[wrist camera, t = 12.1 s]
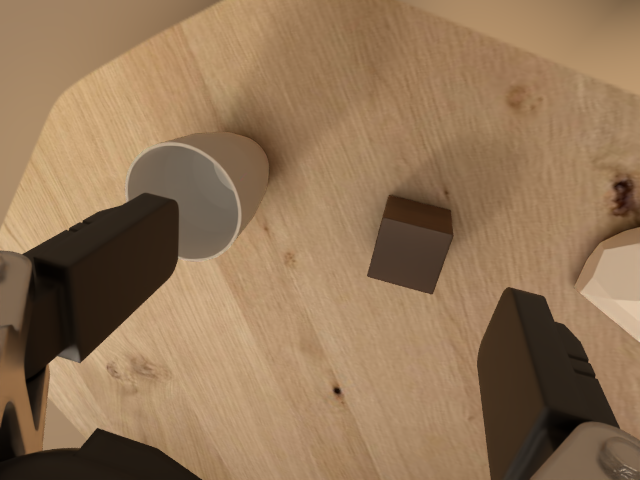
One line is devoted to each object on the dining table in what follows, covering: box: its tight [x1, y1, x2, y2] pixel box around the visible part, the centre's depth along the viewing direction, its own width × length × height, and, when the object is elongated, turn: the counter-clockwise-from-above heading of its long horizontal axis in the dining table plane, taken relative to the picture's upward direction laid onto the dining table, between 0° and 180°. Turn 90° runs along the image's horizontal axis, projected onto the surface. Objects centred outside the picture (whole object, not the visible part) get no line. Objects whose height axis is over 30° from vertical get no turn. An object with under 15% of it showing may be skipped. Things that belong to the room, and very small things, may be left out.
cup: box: [125, 132, 269, 262], centre depth 33 cm, size 8×8×10 cm
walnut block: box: [367, 195, 453, 294], centre depth 34 cm, size 5×5×5 cm
